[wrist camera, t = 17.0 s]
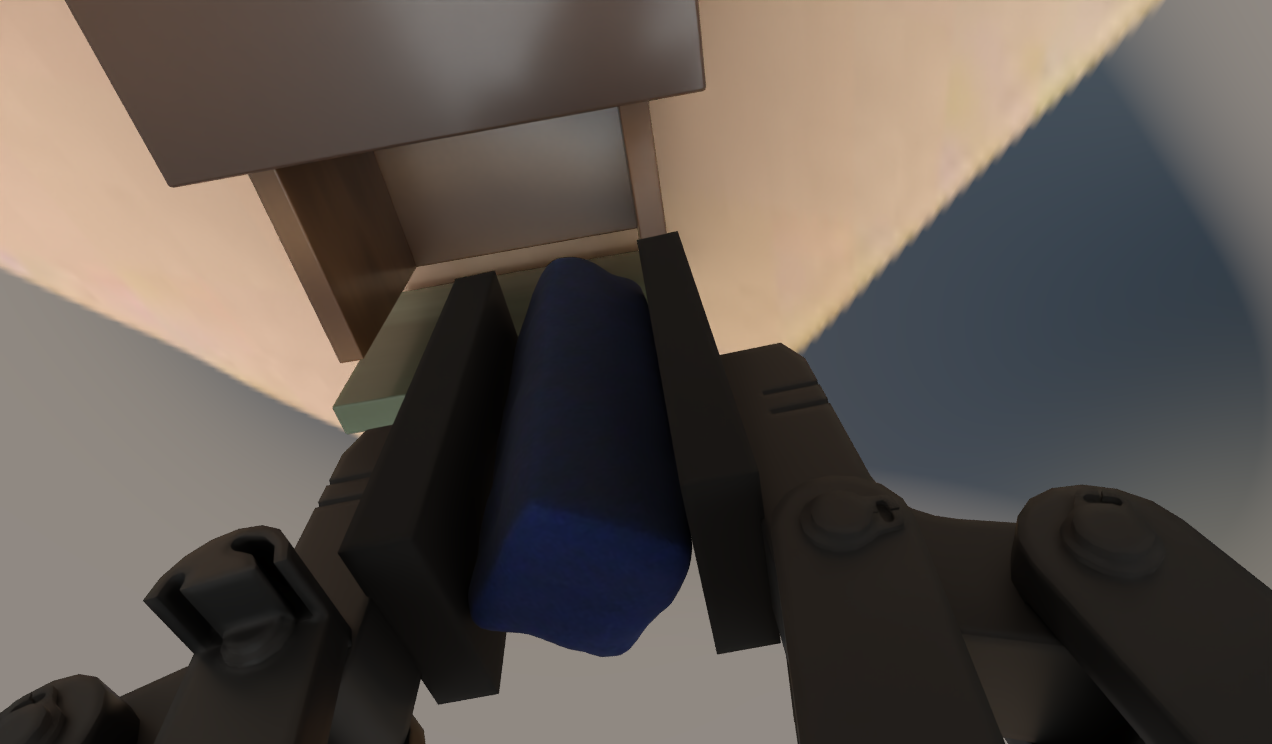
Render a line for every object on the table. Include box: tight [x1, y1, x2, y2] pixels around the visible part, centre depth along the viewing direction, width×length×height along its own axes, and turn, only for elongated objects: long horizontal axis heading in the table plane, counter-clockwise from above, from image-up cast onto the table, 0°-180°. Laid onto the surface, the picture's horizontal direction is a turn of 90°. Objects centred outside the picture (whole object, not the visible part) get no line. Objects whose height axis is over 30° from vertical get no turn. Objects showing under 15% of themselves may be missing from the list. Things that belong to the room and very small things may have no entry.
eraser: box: [468, 257, 692, 657], centre depth 10 cm, size 2×2×7 cm
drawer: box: [248, 101, 667, 434], centre depth 23 cm, size 21×13×9 cm, turn 9°
